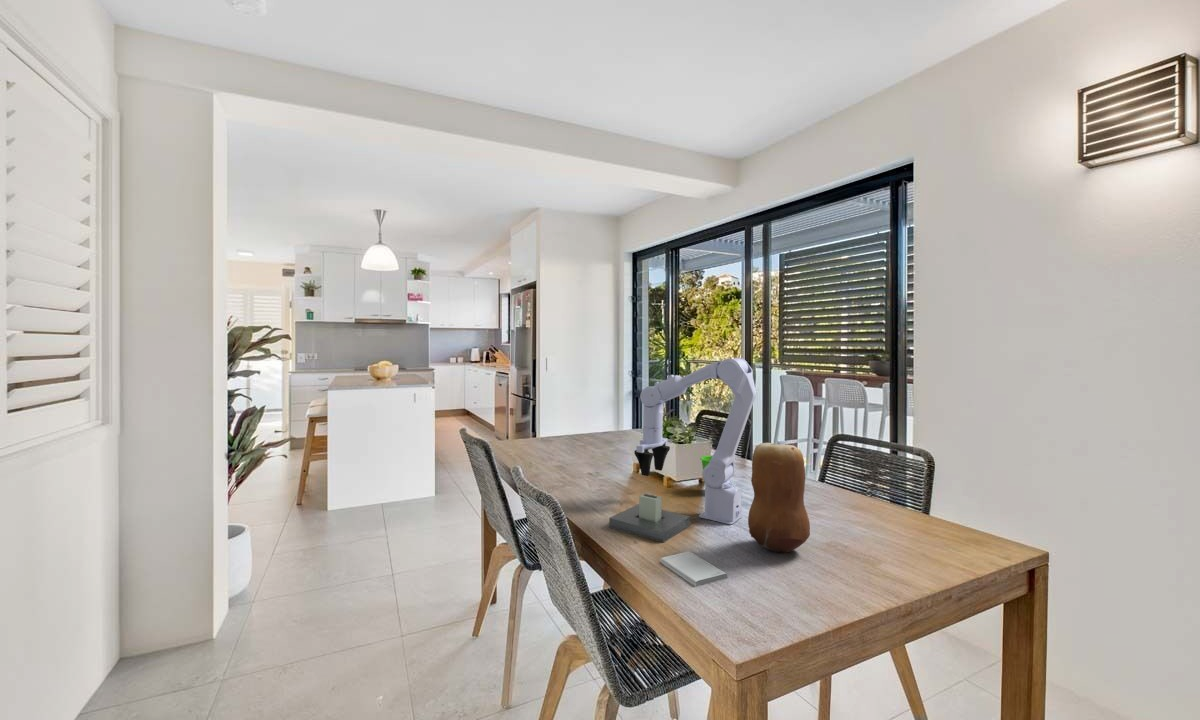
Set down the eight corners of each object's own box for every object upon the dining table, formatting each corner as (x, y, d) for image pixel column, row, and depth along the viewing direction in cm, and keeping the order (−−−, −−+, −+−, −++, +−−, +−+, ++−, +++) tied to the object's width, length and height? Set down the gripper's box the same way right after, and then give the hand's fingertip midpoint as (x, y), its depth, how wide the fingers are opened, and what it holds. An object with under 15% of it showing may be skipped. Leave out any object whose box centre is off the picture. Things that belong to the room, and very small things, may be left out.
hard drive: (727, 573, 105) (690, 550, 116) (695, 581, 101) (660, 557, 112) (727, 581, 105) (690, 557, 116) (695, 589, 101) (660, 564, 112)
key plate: (689, 525, 134) (690, 516, 134) (663, 542, 123) (663, 532, 123) (638, 512, 144) (638, 504, 144) (609, 527, 132) (609, 517, 132)
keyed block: (644, 523, 136) (645, 492, 136) (661, 527, 133) (661, 495, 133) (638, 526, 134) (639, 494, 133) (655, 530, 131) (655, 498, 130)
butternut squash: (781, 535, 128) (783, 436, 127) (822, 556, 116) (825, 447, 115) (735, 542, 123) (737, 439, 122) (772, 566, 111) (775, 451, 110)
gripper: (653, 422, 159) (653, 465, 159) (627, 428, 147) (627, 475, 148) (673, 424, 154) (673, 469, 155) (648, 431, 143) (648, 479, 143)
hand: (652, 472), depth 151 cm, fingers open, 7 cm apart
